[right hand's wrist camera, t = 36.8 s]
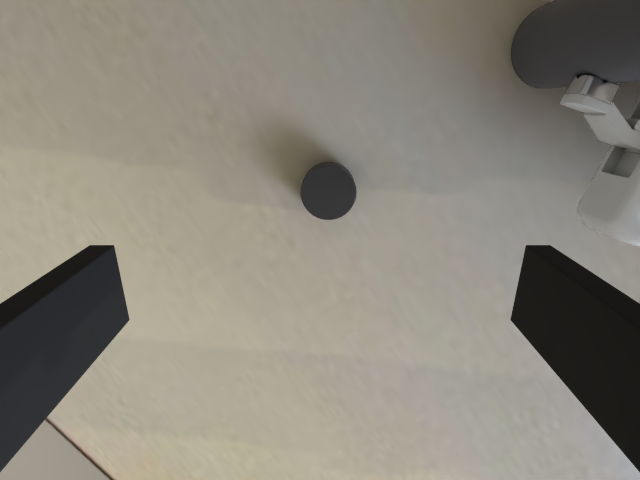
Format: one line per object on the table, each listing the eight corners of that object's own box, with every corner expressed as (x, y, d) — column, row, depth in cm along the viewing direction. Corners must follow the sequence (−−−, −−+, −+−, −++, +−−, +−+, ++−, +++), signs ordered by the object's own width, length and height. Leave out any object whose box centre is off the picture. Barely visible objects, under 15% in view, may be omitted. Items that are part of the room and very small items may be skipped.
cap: (319, 222, 30) (318, 229, 29) (292, 178, 29) (290, 183, 27) (363, 197, 29) (366, 203, 28) (338, 151, 28) (339, 154, 27)
